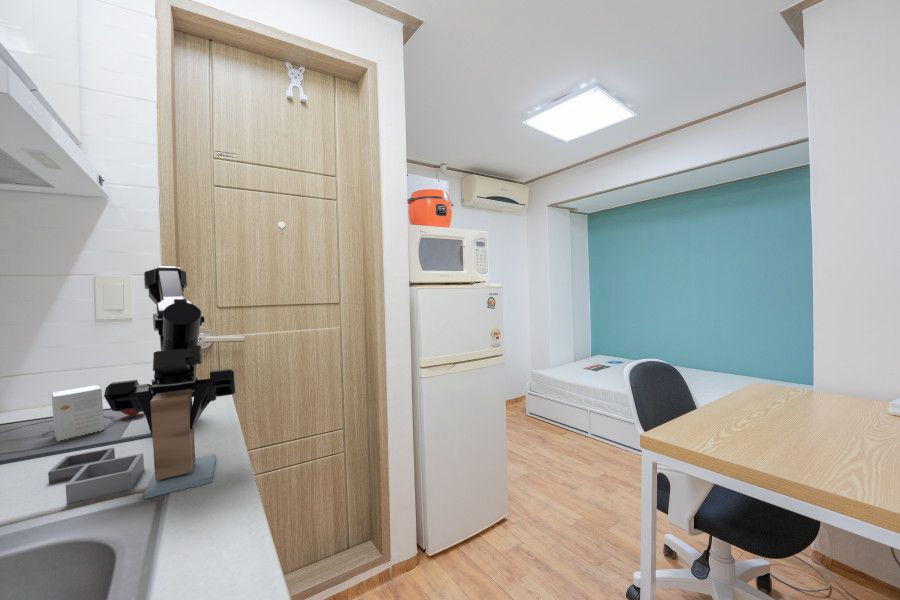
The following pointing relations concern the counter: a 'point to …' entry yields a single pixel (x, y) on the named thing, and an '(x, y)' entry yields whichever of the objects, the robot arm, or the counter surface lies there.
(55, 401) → the small box
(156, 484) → the pad
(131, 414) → the onion
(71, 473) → the tray
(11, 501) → the counter surface
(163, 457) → the walnut block
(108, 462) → the sleeve
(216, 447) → the counter surface
